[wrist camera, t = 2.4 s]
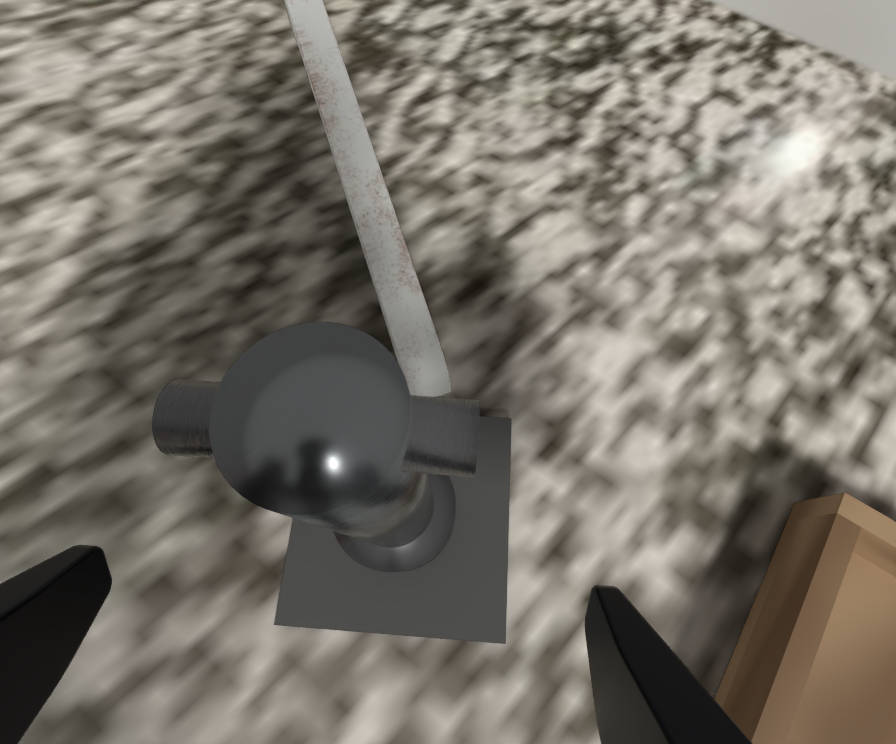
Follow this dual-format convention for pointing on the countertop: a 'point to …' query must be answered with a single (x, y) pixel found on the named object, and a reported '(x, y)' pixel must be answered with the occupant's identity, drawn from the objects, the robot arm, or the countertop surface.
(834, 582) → the tray
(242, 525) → the countertop surface
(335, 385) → the chuck key
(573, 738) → the countertop surface
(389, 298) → the wrench
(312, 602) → the mat
